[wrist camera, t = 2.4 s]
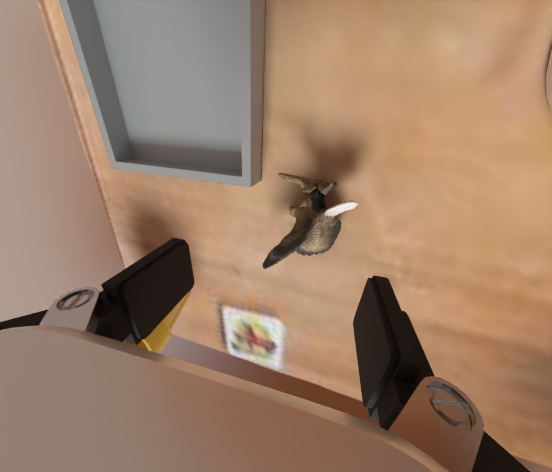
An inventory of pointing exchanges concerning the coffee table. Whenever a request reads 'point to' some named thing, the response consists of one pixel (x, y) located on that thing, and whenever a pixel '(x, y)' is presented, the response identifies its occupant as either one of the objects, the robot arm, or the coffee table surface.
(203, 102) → the bin
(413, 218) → the coffee table surface
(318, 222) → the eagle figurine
